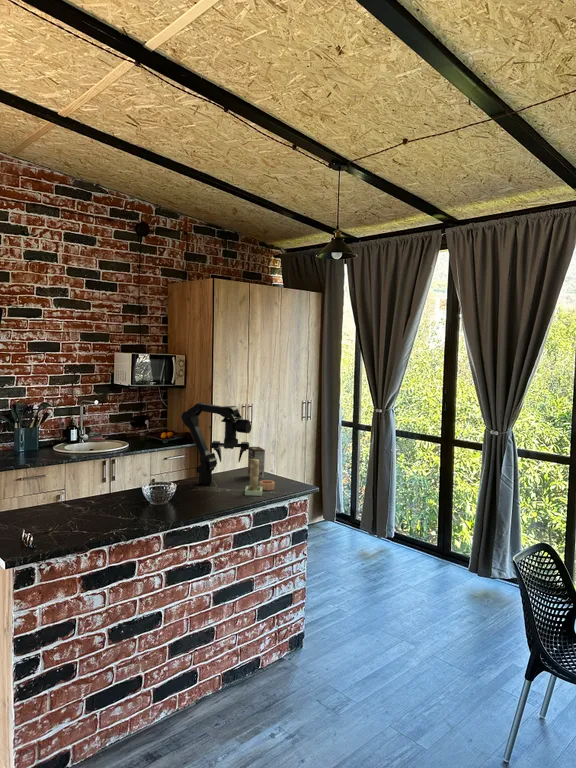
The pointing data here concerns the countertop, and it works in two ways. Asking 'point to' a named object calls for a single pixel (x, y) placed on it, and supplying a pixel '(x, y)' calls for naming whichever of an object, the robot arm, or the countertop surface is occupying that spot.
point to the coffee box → (256, 454)
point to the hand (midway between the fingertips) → (229, 462)
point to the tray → (253, 491)
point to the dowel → (254, 474)
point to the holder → (267, 484)
